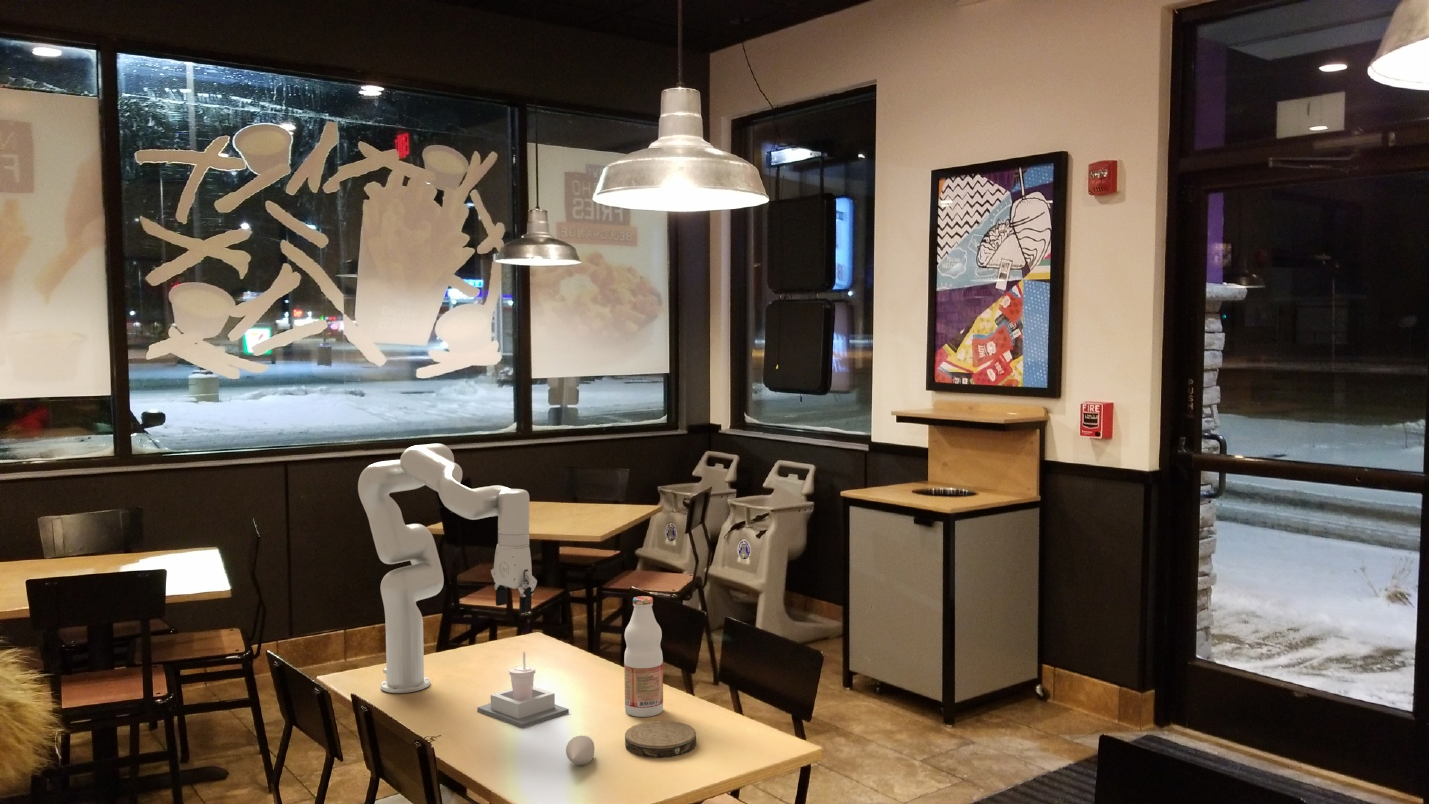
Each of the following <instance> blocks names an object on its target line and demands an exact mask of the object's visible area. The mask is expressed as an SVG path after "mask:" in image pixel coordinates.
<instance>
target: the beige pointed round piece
mask: <svg viewBox="0 0 1429 804" xmlns="http://www.w3.org/2000/svg"><path fill="white" fill-rule="evenodd" d="M595 751H596V750H595V743H594V740H593V739H592V738H591V737H590V736H588V735H578V736H574V737H572V738H570V740H569V741H568V743H567V744H566V748H565V752H566V753H565V754H566V756H567V759H568V761H569V762H571V763H572V764H574V765H576V766H585V765H587V764H589V763H590V762H592V759H593V758H594V757H595V756H594V755H595Z"/></svg>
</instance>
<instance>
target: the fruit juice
mask: <svg viewBox="0 0 1429 804" xmlns="http://www.w3.org/2000/svg"><path fill="white" fill-rule="evenodd" d="M653 603H654V599H653V597H652V596H647V595H646V596H645V595H642V596H635V597H633V599H632V606H633V611H632V614H631V617H630V621H629V622H628V624H627V626H626V627H625V629H624V630H625V631H624V640H625V644H626V648H625V651H624V660H623V661H624V662H623V665H624V667H623V668H624V710H625V713H626V714H627V715H629V716H632V717H635V718H636V717H637V718H638V717H639V718H646V717H647V718H648V717H655V716H657V715H659V714H661V713H662V712H663V710H664V657H663V651H662V648H661V641H662V638H663V636H662V635H663V634H662V633H663V631H662V628H661V626H660V624H659V623H658V622H657V620H656V617H655V613H654V611H653V605H654V604H653Z"/></svg>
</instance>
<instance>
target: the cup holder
mask: <svg viewBox="0 0 1429 804" xmlns="http://www.w3.org/2000/svg"><path fill="white" fill-rule="evenodd" d="M555 697H556V696H555V693H554V692H551V691H549V690H545V689H542V688H540V687H537V686H534V685H533V690H532V698H529V699H526V700H523V701H516V700H514V696H513V689H512V688H509V689H505V690H502V691H499V692H494V693H492V694H490V703H488V704H484V705H480V706H477V707H476V710H477V713H481V714H484V715H486V716H488V717H491V718H494V719H497V720H500V721H503V722H506V723H507V724H510V725H513V726H515V727H518V728H521V729H524V728H528V727H530V726H534V725H536V724H540V723H542V722H545V721H549V720H551V719H555V718H557V717H561V716H564V715H567V714H569V713H570V709H569V708H567V707H564V706H561V705H558V704H556V703H555V702H556V701H555V700H556V699H555Z"/></svg>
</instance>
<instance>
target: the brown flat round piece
mask: <svg viewBox="0 0 1429 804" xmlns="http://www.w3.org/2000/svg"><path fill="white" fill-rule="evenodd" d="M624 745H625V750H626V751H627V752H628V753H630V754H632V755H634V756H638V757H643V758H647V759H667V758H675V757H680V756H684V755H685V754H689V753H690V752H692V751H693V750H694V749H695V748H696V745H697V732H696V730H695V728H694V727H693V726H691V725H690V724H686V723H684V722H678V721H673V720H656V721H655V720H652V721H647V722H641V723H638V724H635V725H633V726H631V727H629V728H627V729H626V730H625V733H624Z"/></svg>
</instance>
